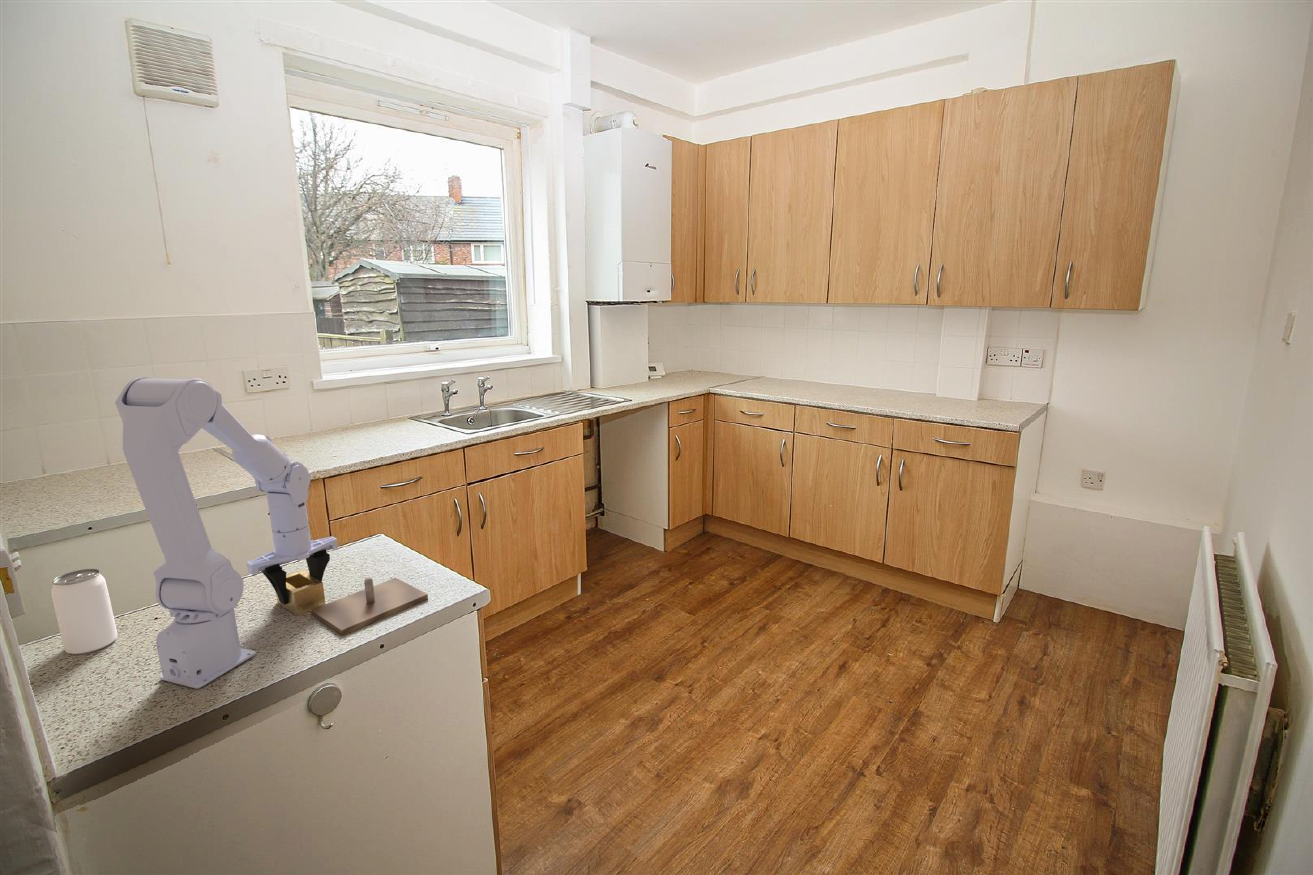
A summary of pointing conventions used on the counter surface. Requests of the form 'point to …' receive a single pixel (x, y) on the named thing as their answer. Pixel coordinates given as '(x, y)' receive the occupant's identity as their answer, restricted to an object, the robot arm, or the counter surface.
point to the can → (83, 611)
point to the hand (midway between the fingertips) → (300, 596)
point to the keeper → (368, 605)
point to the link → (303, 593)
